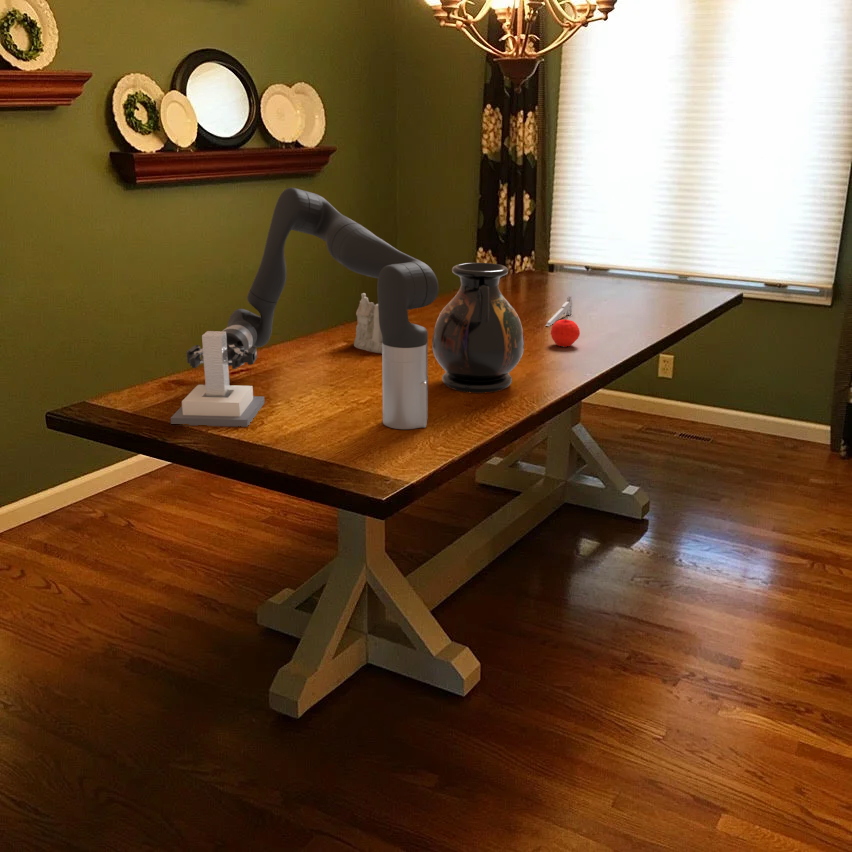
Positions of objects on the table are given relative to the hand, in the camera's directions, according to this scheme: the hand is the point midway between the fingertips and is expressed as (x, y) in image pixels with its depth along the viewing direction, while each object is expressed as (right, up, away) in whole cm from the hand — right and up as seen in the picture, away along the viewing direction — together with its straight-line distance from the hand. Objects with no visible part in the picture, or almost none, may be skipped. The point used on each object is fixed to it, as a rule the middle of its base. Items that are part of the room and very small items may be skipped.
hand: (213, 363), depth 194 cm
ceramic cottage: (+33, +9, +63) cm, 71 cm away
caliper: (+85, +19, +93) cm, 128 cm away
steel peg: (0, -9, +5) cm, 10 cm away
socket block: (0, -10, +6) cm, 12 cm away
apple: (+82, +9, +63) cm, 104 cm away
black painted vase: (+56, -3, +28) cm, 63 cm away
